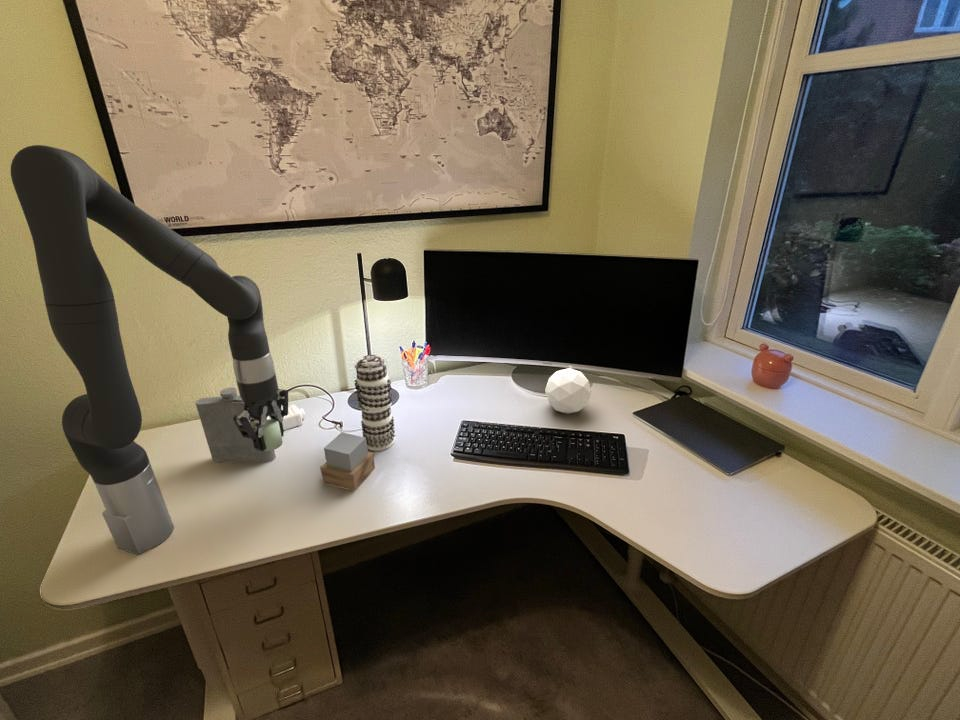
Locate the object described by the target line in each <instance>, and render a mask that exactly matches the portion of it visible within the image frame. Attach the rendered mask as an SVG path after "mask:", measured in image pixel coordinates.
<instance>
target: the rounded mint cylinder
mask: <svg viewBox="0 0 960 720" xmlns="http://www.w3.org/2000/svg"><path fill="white" fill-rule="evenodd" d="M255 431H257V427H256V428H255ZM262 435H263V437H264V441H265V446H266V449H265V450H264V451H271V450H274V451H275V450H277V449H278V448H280V447H281V446H282V445H283V443H284V442H283V437H282V436H281V431H280V426H279V422H278V421H277V420H274V419H268V420H265V426H263V434H262Z"/></svg>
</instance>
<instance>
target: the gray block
mask: <svg viewBox="0 0 960 720" xmlns="http://www.w3.org/2000/svg"><path fill="white" fill-rule="evenodd" d="M368 450H369V449H367V442H366V438H364V437H363V436H360V435H355V434H351V433H347V432H340V433H339V434H337V436H336V437H334V438H333V439H332V440H331V441H330V442H329V443H328V444H327V445H326V446H324V447H323V452H324V457H325V462H326V463H327V465H328V466H331V467H335V468H339V469H343V470H347V471H350V472H352V471H353V470H354V469H355V468H356V467H357V466H358V465H359V464H360V463H361V462H362V461H363V460H364V459H365V458H366V456H367V455H368V452H369V451H368Z"/></svg>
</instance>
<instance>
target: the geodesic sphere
mask: <svg viewBox="0 0 960 720" xmlns="http://www.w3.org/2000/svg"><path fill="white" fill-rule="evenodd" d="M544 393H545V395H546V398H547V401H548V403H549V404H550V406H551V407H552V408H553V409H554V410H555V411H556V412H559V413H563V414H567V415H568V414H573V413H576V412H579V411H581V410H583V409H584V408H585V407H586V406H587V405H588V404H589V402H590V401H589V400H590V398H591V394H592V389H591V385H590V381H589V379H587V377H586V376H585V375H584V373H583V372H582V371H579V370H576V369H575V368H573V366H572V365H568V368H565V369H560V370H557V371H555V372H554V373H553V374H552V375H551V376H549V378H548V381H547V383H546V386H545V390H544Z"/></svg>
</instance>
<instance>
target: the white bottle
mask: <svg viewBox="0 0 960 720" xmlns="http://www.w3.org/2000/svg"><path fill="white" fill-rule="evenodd" d="M281 410H283V407H281ZM305 418H306V413H305V410H304V408H302V407H300V408H298V407H297V406H296V405H295V404H290V405H288V415H287V416H284V417H283V421H282V424H283V429H284V431H286V430H289V429H291V428H292V429H293V428H295V427H300V426H301V425H303V419H305ZM268 419H270V417H269V416H268V417H267V420H268Z"/></svg>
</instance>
